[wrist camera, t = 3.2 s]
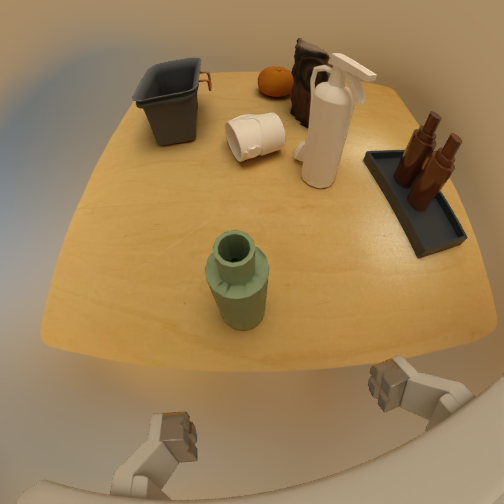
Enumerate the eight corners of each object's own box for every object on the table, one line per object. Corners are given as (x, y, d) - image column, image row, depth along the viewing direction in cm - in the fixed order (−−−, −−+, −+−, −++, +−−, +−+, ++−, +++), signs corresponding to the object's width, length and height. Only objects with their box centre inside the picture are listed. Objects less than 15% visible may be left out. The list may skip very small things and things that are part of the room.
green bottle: (268, 325, 37) (279, 272, 21) (226, 334, 37) (203, 288, 21) (258, 286, 40) (260, 212, 24) (218, 295, 39) (193, 225, 23)
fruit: (299, 101, 64) (302, 76, 57) (260, 102, 64) (260, 76, 57) (291, 85, 69) (292, 62, 62) (255, 86, 69) (255, 62, 61)
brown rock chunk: (323, 137, 56) (337, 59, 39) (273, 119, 60) (276, 44, 42) (339, 114, 61) (352, 47, 44) (294, 99, 65) (300, 34, 47)
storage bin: (159, 108, 64) (148, 64, 52) (214, 99, 65) (209, 53, 52) (147, 156, 54) (128, 103, 42) (216, 145, 55) (209, 88, 42)
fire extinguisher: (307, 150, 54) (324, 41, 32) (347, 186, 49) (385, 70, 27) (282, 161, 52) (292, 43, 30) (322, 200, 47) (356, 74, 25)
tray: (460, 244, 43) (467, 237, 40) (417, 258, 42) (425, 250, 39) (407, 158, 54) (411, 149, 52) (363, 160, 53) (366, 151, 50)
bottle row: (431, 210, 46) (473, 148, 30) (414, 213, 45) (457, 148, 30) (405, 170, 51) (436, 108, 36) (389, 171, 50) (418, 105, 35)
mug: (286, 159, 53) (289, 127, 46) (242, 171, 51) (240, 139, 44) (261, 127, 58) (262, 98, 51) (222, 137, 56) (219, 108, 49)
